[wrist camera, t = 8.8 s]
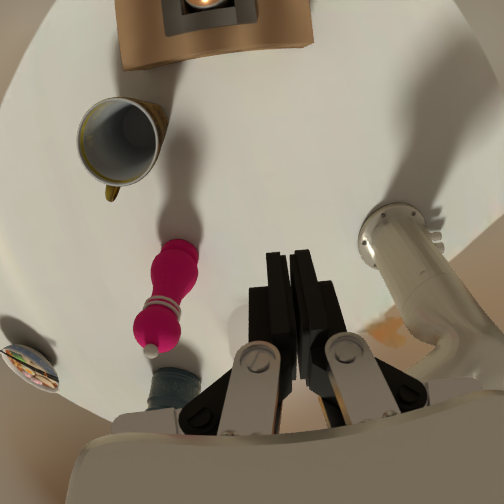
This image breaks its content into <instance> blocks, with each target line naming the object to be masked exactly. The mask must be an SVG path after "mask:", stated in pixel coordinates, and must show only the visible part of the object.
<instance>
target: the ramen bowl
mask: <svg viewBox="0 0 504 504" xmlns="http://www.w3.org/2000/svg"><path fill="white" fill-rule="evenodd" d="M0 352H1V355H2V358H3V359H4V361H5V362H6V363H7V365H8V366H9V367H10V368H11V369H12V370H13V371H14V372H15V373H16V374H17V375H18V376H20V377H21V378H23V379H24V380H25V381H26V382H28V383H30V384H31V385H33V386H35V387H37V388H39V389H41V390H44V391H46V392H51V393H57V392H59V380H58V376H57V373H56V371H55V370H54V368H53V366H52V365H51V363H50V362H49V361H48V360H47V359H46V358H45V357H44V356H43V354H41V353H40V352H39V351H37V350H35V349H33V348H30V347H28V346H25V345H20V344H13V345H10V346H7V347H5V348H3V349H2V350H0Z"/></svg>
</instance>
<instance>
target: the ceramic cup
mask: <svg viewBox="0 0 504 504" xmlns="http://www.w3.org/2000/svg"><path fill="white" fill-rule="evenodd" d="M168 123H169V121H168V119H167V117H166V116H165V114H164V112H163V110H162V109H161V107H160V105H157V104H153V103H148V102H144V101H140V100H136V99H132V98H125V97H113V98H108V99H105V100H102V101H100V102H98V103H97V104H95V105H94V106H93V107H91V108H90V109H89V110H88V111H87V113H86V114H85V115H84V117H83V119H82V120H81V123H80V125H79V128H78V132H77V150H78V155H79V158H80V160H81V162H82V164H83V166H84V167H85V169H86V170H87V171H88V173H89V174H90V175H91V176H92V177H94V178H95V179H96V180H98V181H100V182H102V183H104V184H107V185H106V191H105V195H106V199H107V200H108V201H109V202H113V201H114V200H115V199H116V197H117V195H118V192H119V190H120V187H121V186H128V185H131V184H134V183H136V182H138V181H140V180H141V179H143V178H144V177H145V176H146V175H147V174H148V173H149V172H150V170H151V169H152V168H153V166H154V164H155V162H156V161H157V158H158V156H159V153H160V150H161V147H162V143H163V141H164V138H165V134H166V131H167V127H168Z"/></svg>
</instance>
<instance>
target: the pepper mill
mask: <svg viewBox="0 0 504 504" xmlns="http://www.w3.org/2000/svg"><path fill="white" fill-rule="evenodd" d="M198 259H199V256H198V252H197V250H196V248H195V247H194V246H193V245H192V244H191V243H189V242H188V241H185V240H182V239H174V240H170V241H168V242H166V243H165V244H164V246H163V247H162V250H161V252H160V253H159V254H158V255H157V256H156V257H155V259H154V260H153V263H152V266H151V280H152V284H153V292H152V296H151V297H150V298H148V299H147V300H146V302H145V305H144V307H143V311H141V312H140V313H139V314H138V315H137V316H136V318H135V321H134V325H133V332H134V336H135V339H136V341H137V342H138V343H139V344H140V345H141V346H142V347H143V348H144V354H145V356H146V357H148V358H151V359H152V358H155V357H157V355H158V353H163V352H167V351H170V350H171V349H173V348H174V347H175V346H176V344H177V343H178V341H179V339H180V335H181V327H180V324H179V321H180V316H181V309H180V307H179V305H180V302H181V300H182V299H183V298H184V297H185V295H186V294H188V293H189V292H190V291H191V289H192V288H193V286H194V285H195V283H196V280H197V277H198V268H197V263H198Z"/></svg>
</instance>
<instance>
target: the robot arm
mask: <svg viewBox="0 0 504 504" xmlns="http://www.w3.org/2000/svg"><path fill="white" fill-rule="evenodd" d="M441 238H442V235H441V232H434V233H430V232H429V231H428V230H427V229H426V224H425V220H424V218H423V216H422V215H421V214H420V212H419V211H418V210H417V209H415V208H414V207H413V206H410V205H408V204H404V203H394V204H390V205H387V206H384V207H382V208H380V209H379V210H377V211H376V212H374V213H373V214H372V215H371V216H370V217H369V218H368V219H367V221H366V222H365V223H364V225H363V227H362V229H361V231H360V234H359V238H358V249H359V253H360V255H361V257H362V259H363V260H364V262H365V263H366V264H367V265H368V266H370V267H372V268H374V269H377V270H379V272H380V273H381V275H382V277H383V279H384V281H385V283H386V285H387V287H388V289H389V292H390V294H391V296H392V298H393V300H394V302H395V304H396V306H397V308H398V310H399V313H400V315H401V317H402V319H403V321H404V324H405V326H406V328H407V329H408V331H409V332H410V333H411V335H413V336H414V337H415V338H416V339H418V340H420V341H422V342H425V343H427V344H431V345H434V346H436V347H435V348H434V350H432V351H431V352H430V353H429V354H427V355H426V356H425V357H424V358H423V359H421V360H420V361H419V362H417V363H416V364H414V365H413V366H411V367H410V368H408V369H407V370H405V371H404V372H402V371H400V370H398V369H396V368H394V367H393V366H391V365H389V364H387V363H385V362H383V361H381V360H379V359H378V358H376V357H374V356H373V354H372V352H371V350H370V349H369V346H368V344H367V343H366V341H365V340H364V339H363V338H362V337H361V336H359V335H357V334H355V333H351V332H347V330H346V326H345V323H344V319H343V316H342V313H341V309H340V306H339V303H338V299H337V296H336V293H335V290H334V286H333V283H332V281H331V280H329V281H320V282H318V281H317V277H316V273H315V270H314V266H313V262H312V259H311V255H310V252H309V249H306V250H295V254H291V255H290V280H289V274H288V267H287V261H286V255H280V252H272V253H266V261H267V275H268V286H265V287H253V288H249V343H247V344H245V345H244V346H242V347H241V348H240V349H239V350H238V351H237V353H236V356H235V358H234V363H233V367H232V368H231V369H230V370H229V371H228V372H227V373H225V374H224V375H223V376H222V377H220V378H219V379H218V380H217V381H216V382H214V383H213V384H212V385H211V386H209V387H208V388H207V389H205V390H204V391H203V392H202V393H200V394H199V395H198V396H197V397H195V398H194V399H193V400H191V401H190V402H189V403H187V404H186V405H185V406H184V407H183V408H180V409H174V408H173V407H172V408H165V409H159V410H151V411H143V412H135V413H126V414H122V415H120V416H118V417H117V418H116V419H115V420H114V421H113V423H112V426H111V435H107V436H104V437H100V438H98V439H95V440H93V441H91V442H89V443H88V444H86V445H85V446H84V448H83V449H82V450H81V452H80V454H79V456H78V457H77V460H76V463H75V465H74V468H73V471H72V474H71V478H70V482H69V487H68V491H67V496H66V502H65V504H504V334H503V333H502V331H501V330H500V329H499V328H498V327H497V325H495V323H494V322H493V321H492V320H491V319H490V317H489V316H488V315H487V314H486V313H485V311H484V310H483V309H482V308H481V306H480V305H479V304H478V302H477V301H476V300H475V298H474V297H473V296H472V294H471V293H470V291H469V290H468V289H467V287H466V286H465V285H464V283H463V282H462V280H461V279H460V278H459V276H458V275H457V274H456V272H455V271H454V270H453V268H452V267H451V265H450V264H449V263H448V261H447V260H446V259H445V257H444V256H443V255H442V253H444V244H443V243H442V242H440V243H433V242H432V240H434V241H436V240H441ZM290 282H291V286H290ZM297 356H298V364H299V371H300V379H306V385H307V386H309V389H310V390H311V391H313V392H315V393H316V394H317V395H318V399H319V403H320V406H321V409H322V412H323V415H324V418H325V421H326V424H327V428H328V429H322V430H315V431H305V432H296V433H285V434H279V432H280V424H281V415H282V406H283V400H284V399H285V398H286V397H287V396H288V395H289V394H290V393H291V392H292V380H296V366H297Z"/></svg>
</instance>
